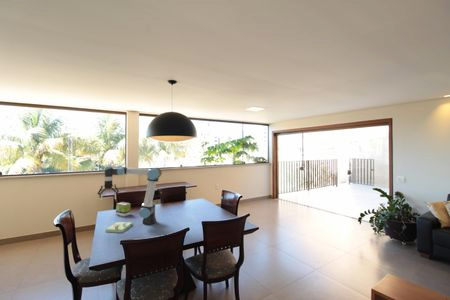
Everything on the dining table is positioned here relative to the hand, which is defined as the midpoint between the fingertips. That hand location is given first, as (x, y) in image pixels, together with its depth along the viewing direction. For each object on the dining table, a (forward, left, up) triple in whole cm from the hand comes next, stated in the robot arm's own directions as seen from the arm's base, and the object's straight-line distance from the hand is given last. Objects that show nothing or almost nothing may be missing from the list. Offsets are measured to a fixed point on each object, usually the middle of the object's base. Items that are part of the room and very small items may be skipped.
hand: (108, 200), depth 227 cm
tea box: (+6, -42, -29) cm, 51 cm away
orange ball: (-17, +13, -24) cm, 32 cm away
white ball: (-20, +4, -24) cm, 32 cm away
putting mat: (-16, +4, -29) cm, 33 cm away
